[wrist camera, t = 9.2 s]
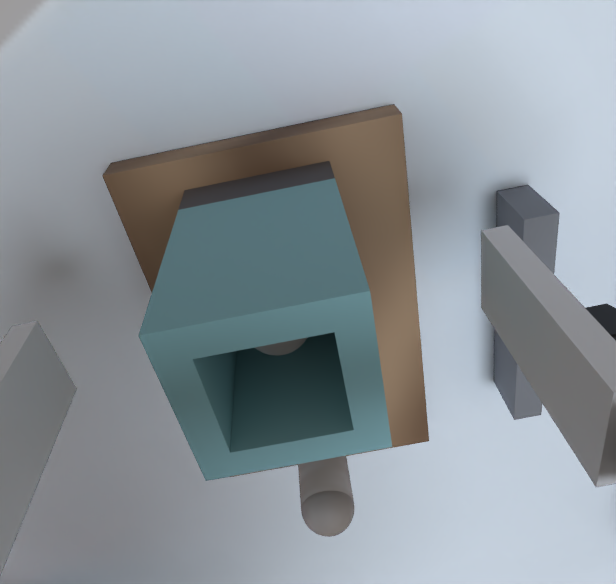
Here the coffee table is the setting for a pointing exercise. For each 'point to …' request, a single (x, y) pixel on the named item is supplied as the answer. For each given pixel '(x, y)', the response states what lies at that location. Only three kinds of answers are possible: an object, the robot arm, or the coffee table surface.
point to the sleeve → (267, 326)
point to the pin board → (367, 235)
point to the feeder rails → (542, 241)
